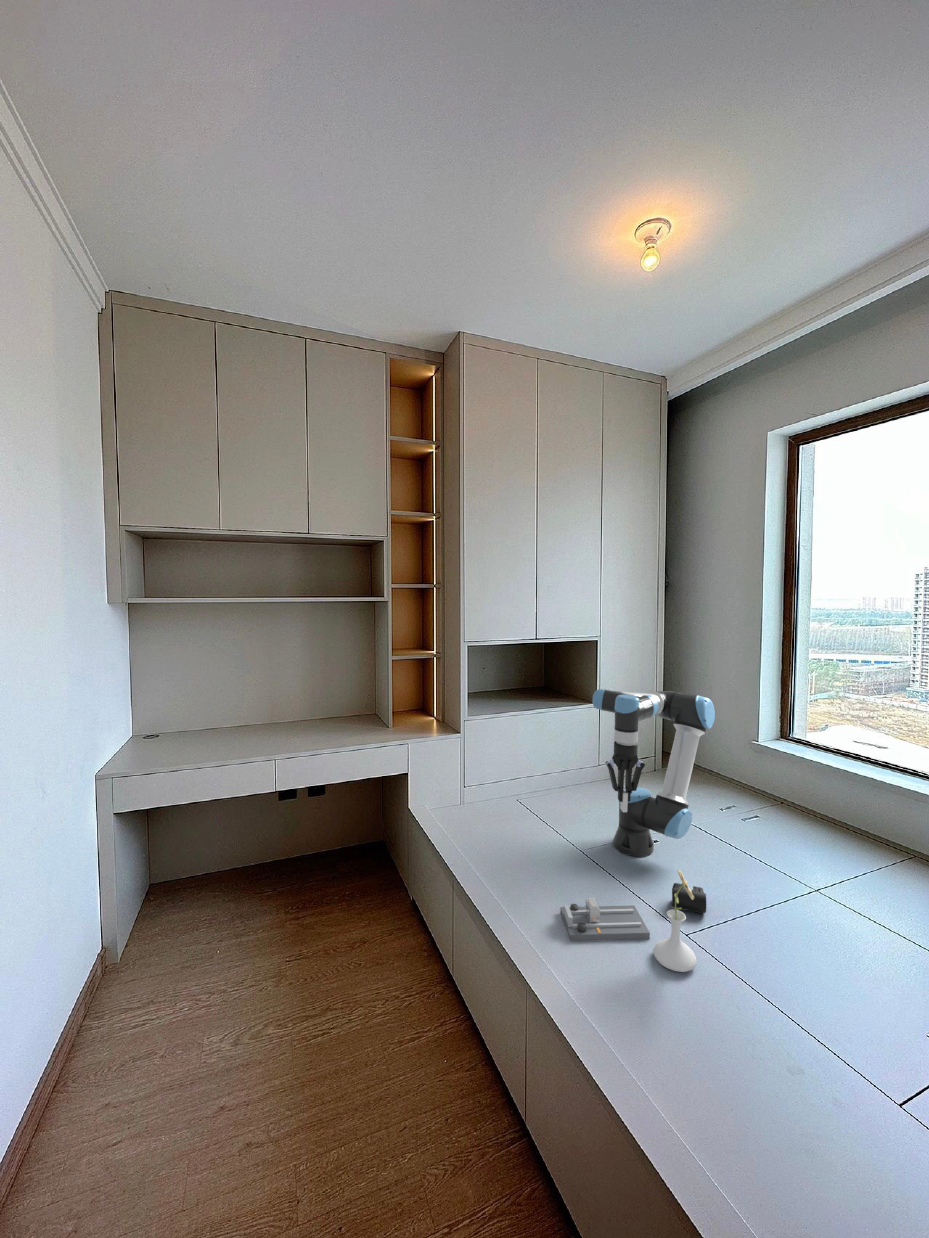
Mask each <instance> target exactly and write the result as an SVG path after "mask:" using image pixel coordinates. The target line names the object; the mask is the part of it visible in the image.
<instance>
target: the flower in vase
mask: <svg viewBox="0 0 929 1238" xmlns="http://www.w3.org/2000/svg"><path fill="white" fill-rule="evenodd" d="M677 874H678V876H679V878H680V881H681V883H680V884H681V887H680V888H679V890H678V891H677V893H676V894H674V896H675V908H673V909H669V910H667V911H666V915H667V917H668V919H669V921H670V926H671V928H670V929H671V932H670V937H668V938H665V939H661V940H659V941H658V942H656V944H655V945H654V947H653V950H652V951H653V955H654V958H655V960H657V962H658V963H659V964H660V965H661V966H663V967H665V968H667V969H669V970H670V971H674V972H677V973H679V972H680V973H685V972H690V971H692V970H693V969H695V967H696V966H697V964H698V961H697V956H696V954H695V951H693V950H692V948H691V947H690V946H688V945H687V944H686V943H684V942H683V941H682V940H681V928H682V925H683V923H684V921H685V920H686V919H687V916H686V914H685V913H684V912H683V911H681V910H683V909H682V908H676V902H677V903H679V900H678V897H677V895H678V893H679V891H680V889H681V888H682V887H683V888H685V889H686V891H687V893H688V895H689V896H690V898H691V899H692V900H694V899H693V898H694V896H693V894H692V893H691V892H692V891H691V890H692V889H691V888H690V887H689V885H688V881H687V879H685V877H684V874H683V872H682V871H681V870H680V869H679V870H677Z"/></svg>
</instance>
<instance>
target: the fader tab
mask: <svg viewBox="0 0 929 1238" xmlns="http://www.w3.org/2000/svg"><path fill="white" fill-rule="evenodd" d="M599 906H600V905H599V904H598V902H597V900H596V898H595V897H587V898H586V899H585V907H586V917H587V919H588V921H589V924H590V923H600V908H599Z"/></svg>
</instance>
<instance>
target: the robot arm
mask: <svg viewBox="0 0 929 1238" xmlns="http://www.w3.org/2000/svg"><path fill="white" fill-rule="evenodd" d="M591 702H592V706H593V707H594V708H595V709H597V710H600V711H604V712H608V713H612V714H614V730H613V731H614V736H613V737H614V738H613V740H614V741H613V755H612V758H611V759H610V760H609V761H605V766H606V767H607V768H608V769H607V770H608V773H609V777H610V782H611V786H612V789H613V791H614V792H617V801H618V803H619V804H618V805H619V806H618V826H617V829H616V832H615V834H614V837H613V846H614V848H615V849H616V850H617V851H618V852H620V853H622V854H624V855H626V856H631V857H647V856H649V855H652V854H653V852H654V850H655V849H654V840H653V838H652V835H651V831H654V832H655V833H658V834H661V835H663V836H666V837H668V838H672V839H675V840H676V839H677V840H678V839H682V838H683V837H685V836H686V835H687V834H688V832H689V830H690V827H691V824H692V821H693V812H692V811H691V810H690V808H689V806H690V804H689V802H688V801H687V794H688V789H689V785H690V783H691V782H690V781H691V777H692V773H693V767H694V764H695V759H696V754H697V750H698V747H699V746H698V745H699V742H700V738H701V736H703V735H705V734H706V730H709V729H710V730H711V728H713V725H714V723H715V718H716V711H715V706H714V703H713V701H712V700H711V699H710V698H709V697H705V696H702V695H699V694H698V695H697V694H691V693H683V692H677V691H674V690H673V691H672V690H667V691H666V690H664V691H663V690H655V691H653V690H651V691H647V692H633V691H632V692H631V691H620V690H619V691H618V690H617V691H616V690H609V689H604V688H602V689H601V688H598V689H596V690H595V691H594V692H593V694H592V701H591ZM653 716H655V717H659V718H661V719H665V720H669V721H672V722H673V726H674V728H675V735H674V738H673V742H672V743H673V744H672V748H671V751H670V755H669V760H668V764H667V767H666V772H665V777H664V781H663V785H662V789H661V791H659V792H658V793H656V796H655V797H653V796H652V792H651V791H650V790H649V789H648V788H644V787H638V785H639V782H640V778H641V775H642V772H643V769H644V768H645V766H646V764H645V762H643V761H642V760H640V759H639V757H638V741H639V722H640V721H643V720H646V719H650V718H652V717H653ZM615 766H616V767H617V776H616V773H615V769H614V767H615ZM634 767H635V768H634ZM633 769H634V772H633ZM632 774H633V776H632ZM616 777H617V778H616ZM650 830H651V831H650Z"/></svg>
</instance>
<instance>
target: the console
mask: <svg viewBox="0 0 929 1238" xmlns="http://www.w3.org/2000/svg"><path fill="white" fill-rule="evenodd" d="M598 906H599V908H600V923H590V924H589V921H588V919H587V917H586V906H579V905H578V904H576V903H571V904H570V906H569V905H568V904H565V905H564V906H561V907H560V908H559V909H560V910H559V911H560V912H559V913H560V916H561V920H562V923H563V925H564V928H565V931H566V933H567V937H568V941H569V942H586V941H587V942H591V941H592V942H593V941H595V942H597V941H624V940H629V941H630V940H650V937H651V936H650V935H651V932H650V931H649V929H648V927H647V925H646V924H645V922H644V920H643V918H642V916H641V915H640V913H639V911H638V909H637V907H636V906H635V905H634V904H632V905H604V906H603V905H598Z"/></svg>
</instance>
